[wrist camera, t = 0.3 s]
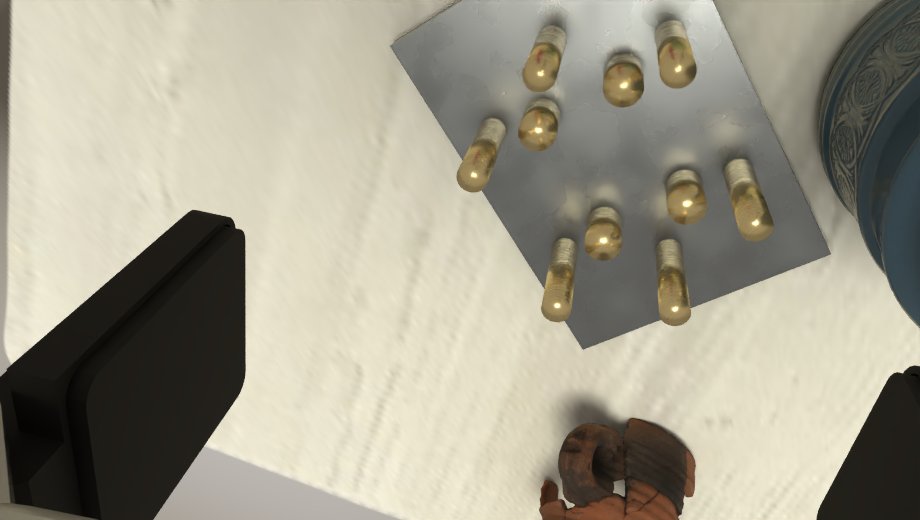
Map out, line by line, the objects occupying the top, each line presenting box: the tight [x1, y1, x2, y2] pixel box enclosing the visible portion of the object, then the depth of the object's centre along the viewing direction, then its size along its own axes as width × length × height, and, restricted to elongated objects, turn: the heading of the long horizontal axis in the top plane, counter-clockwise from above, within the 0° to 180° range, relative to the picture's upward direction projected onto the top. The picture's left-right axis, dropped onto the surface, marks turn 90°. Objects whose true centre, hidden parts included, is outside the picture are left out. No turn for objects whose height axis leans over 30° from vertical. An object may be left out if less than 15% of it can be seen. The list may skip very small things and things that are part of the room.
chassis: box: [390, 0, 831, 349], centre depth 36 cm, size 14×20×7 cm
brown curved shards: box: [539, 418, 696, 520], centre depth 47 cm, size 12×10×8 cm
